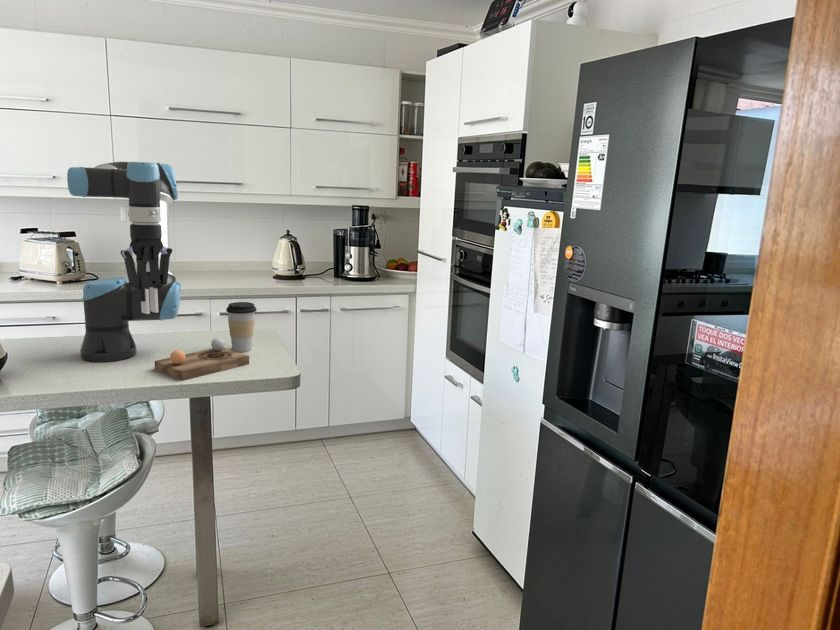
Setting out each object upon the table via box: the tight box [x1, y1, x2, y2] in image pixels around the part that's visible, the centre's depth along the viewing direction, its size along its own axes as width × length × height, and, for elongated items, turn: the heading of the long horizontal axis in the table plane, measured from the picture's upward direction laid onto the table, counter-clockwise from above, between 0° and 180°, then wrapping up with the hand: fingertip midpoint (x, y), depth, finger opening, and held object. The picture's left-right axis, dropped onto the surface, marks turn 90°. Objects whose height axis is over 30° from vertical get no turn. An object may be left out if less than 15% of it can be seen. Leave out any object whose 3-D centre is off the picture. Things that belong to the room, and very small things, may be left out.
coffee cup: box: [225, 301, 257, 353], centre depth 197 cm, size 9×9×15 cm
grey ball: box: [210, 337, 226, 351], centre depth 187 cm, size 4×4×4 cm
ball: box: [169, 349, 185, 364], centre depth 172 cm, size 4×4×4 cm
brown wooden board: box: [154, 347, 250, 381], centre depth 179 cm, size 14×22×2 cm, turn 143°
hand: (150, 312), depth 163 cm, fingers closed
